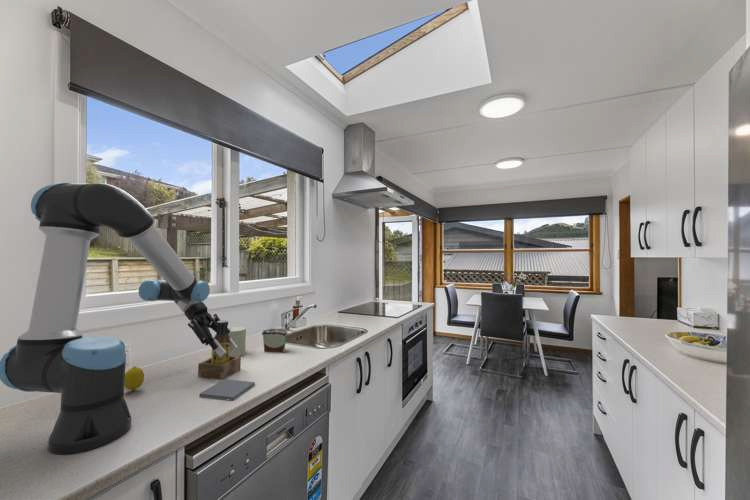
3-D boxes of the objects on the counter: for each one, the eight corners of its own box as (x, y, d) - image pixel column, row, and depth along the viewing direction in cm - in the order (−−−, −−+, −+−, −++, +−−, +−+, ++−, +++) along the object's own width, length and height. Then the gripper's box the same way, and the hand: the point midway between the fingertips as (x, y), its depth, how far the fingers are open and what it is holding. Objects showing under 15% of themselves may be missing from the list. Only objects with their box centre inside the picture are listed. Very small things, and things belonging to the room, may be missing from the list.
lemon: (147, 388, 103) (148, 364, 103) (130, 395, 98) (131, 370, 98) (135, 386, 105) (136, 363, 105) (118, 393, 99) (119, 368, 100)
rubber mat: (233, 400, 96) (233, 397, 96) (199, 396, 98) (199, 393, 98) (254, 384, 108) (254, 382, 108) (224, 381, 110) (224, 379, 110)
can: (223, 352, 143) (224, 326, 144) (245, 350, 147) (245, 325, 148) (223, 358, 135) (224, 331, 135) (246, 355, 139) (246, 329, 139)
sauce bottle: (211, 377, 114) (212, 323, 114) (210, 371, 119) (211, 320, 119) (230, 374, 117) (231, 322, 117) (228, 368, 122) (229, 318, 123)
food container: (291, 349, 150) (291, 328, 150) (286, 353, 144) (286, 331, 144) (267, 348, 151) (267, 327, 151) (261, 352, 145) (261, 330, 145)
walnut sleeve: (223, 379, 112) (223, 365, 112) (198, 377, 114) (198, 363, 114) (240, 369, 122) (240, 356, 122) (217, 367, 124) (217, 354, 124)
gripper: (204, 309, 131) (238, 350, 127) (166, 318, 112) (204, 366, 109) (215, 297, 130) (250, 338, 127) (179, 304, 111) (218, 352, 108)
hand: (229, 351), depth 118 cm, fingers closed on sauce bottle, 6 cm apart
